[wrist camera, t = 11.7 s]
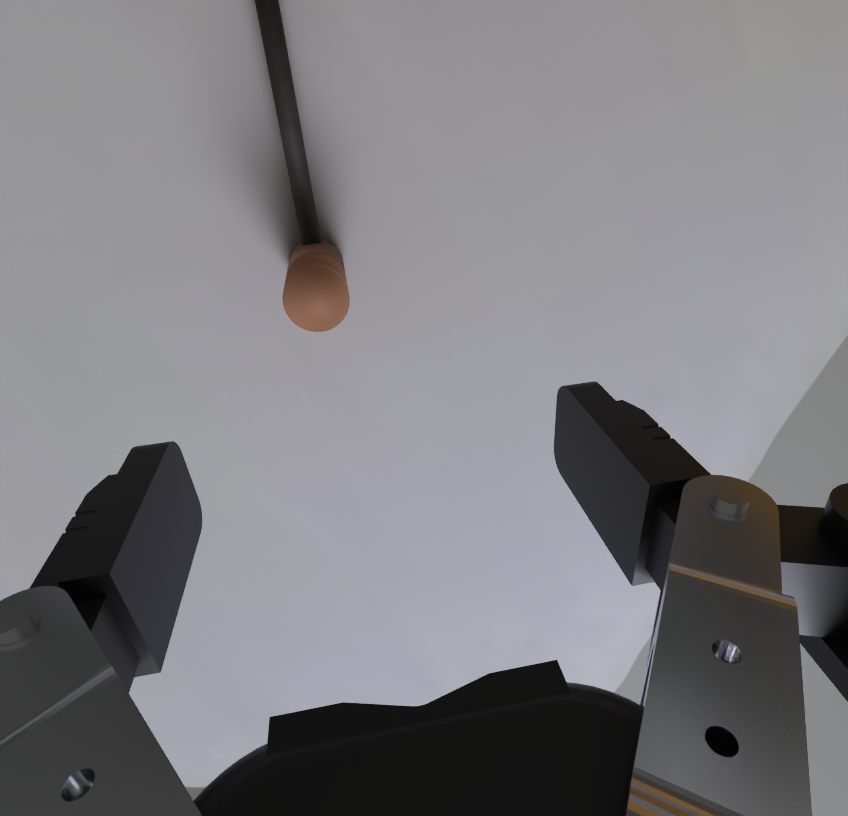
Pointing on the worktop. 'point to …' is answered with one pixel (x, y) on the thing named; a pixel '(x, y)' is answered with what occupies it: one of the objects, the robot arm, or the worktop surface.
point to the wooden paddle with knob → (301, 199)
